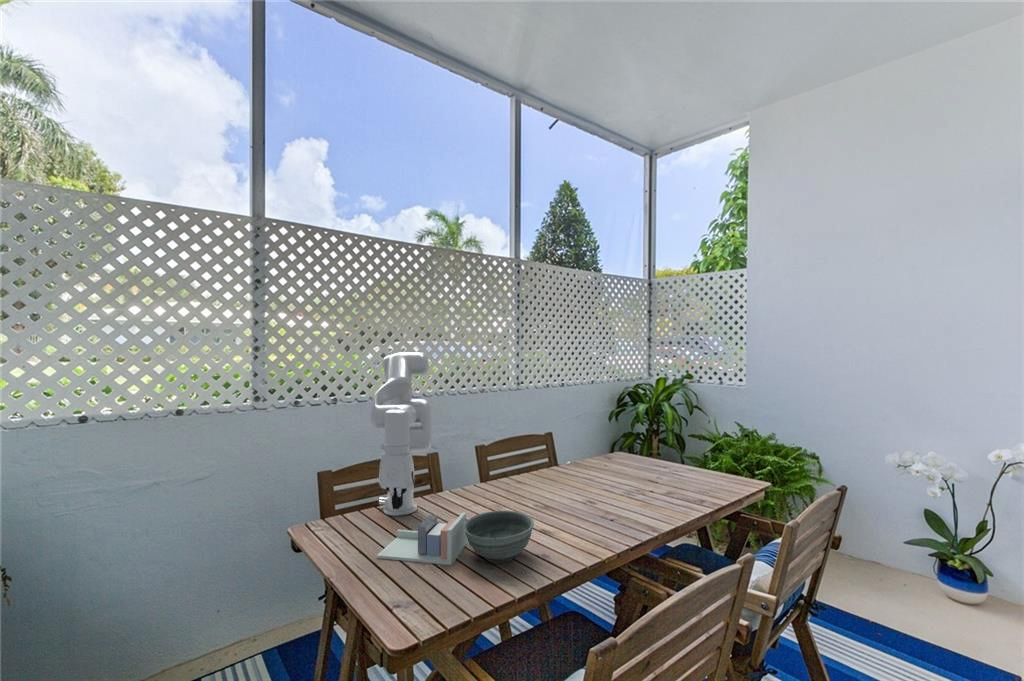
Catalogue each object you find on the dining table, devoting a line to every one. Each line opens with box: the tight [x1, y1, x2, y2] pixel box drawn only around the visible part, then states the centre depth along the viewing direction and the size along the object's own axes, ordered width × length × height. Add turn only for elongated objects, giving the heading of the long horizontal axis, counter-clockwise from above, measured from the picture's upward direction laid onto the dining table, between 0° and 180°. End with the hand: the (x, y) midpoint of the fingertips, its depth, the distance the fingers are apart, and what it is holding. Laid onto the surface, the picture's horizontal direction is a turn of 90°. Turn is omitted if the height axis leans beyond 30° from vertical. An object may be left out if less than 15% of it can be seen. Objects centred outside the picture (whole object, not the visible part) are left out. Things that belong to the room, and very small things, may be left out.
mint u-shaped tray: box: [376, 511, 467, 566], centre depth 134 cm, size 23×14×10 cm, turn 78°
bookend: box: [417, 514, 438, 555], centre depth 134 cm, size 2×9×8 cm, turn 168°
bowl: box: [464, 510, 535, 564], centre depth 130 cm, size 21×21×10 cm
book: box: [427, 522, 447, 557], centre depth 133 cm, size 4×9×6 cm, turn 168°
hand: (397, 507), depth 137 cm, fingers closed
